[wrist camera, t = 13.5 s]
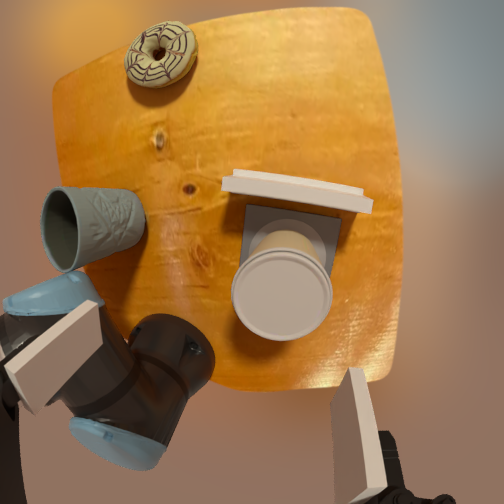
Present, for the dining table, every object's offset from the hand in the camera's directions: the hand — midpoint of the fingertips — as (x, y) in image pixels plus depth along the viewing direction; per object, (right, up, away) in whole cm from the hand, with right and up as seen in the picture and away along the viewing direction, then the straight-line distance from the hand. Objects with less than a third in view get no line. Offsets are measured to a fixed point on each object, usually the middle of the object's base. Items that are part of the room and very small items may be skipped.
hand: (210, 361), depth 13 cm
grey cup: (-16, +10, +25) cm, 31 cm away
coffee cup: (+6, +5, +23) cm, 25 cm away
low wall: (+8, +13, +21) cm, 26 cm away
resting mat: (+7, +5, +24) cm, 25 cm away
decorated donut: (-10, +32, +18) cm, 39 cm away
